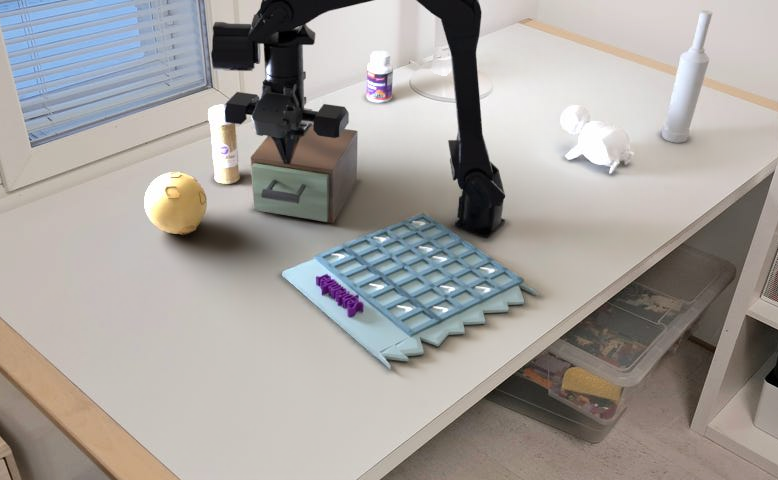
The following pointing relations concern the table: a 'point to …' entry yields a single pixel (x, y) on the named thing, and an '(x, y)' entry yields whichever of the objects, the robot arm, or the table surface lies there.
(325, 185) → the drawer
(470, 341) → the table surface
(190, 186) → the stress ball
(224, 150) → the sprinkles bottle
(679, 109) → the bottle
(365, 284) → the calendar
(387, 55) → the pill bottle
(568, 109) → the white animal figurine
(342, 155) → the cabinet
